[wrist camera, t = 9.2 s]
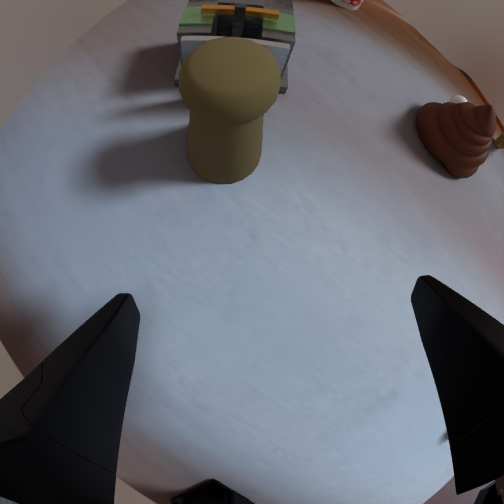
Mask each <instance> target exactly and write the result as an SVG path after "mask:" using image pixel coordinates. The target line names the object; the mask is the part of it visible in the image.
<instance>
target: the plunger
mask: <svg viewBox="0 0 504 504" xmlns="http://www.w3.org/2000/svg"><path fill="white" fill-rule="evenodd" d="M246 6H247V4H243V3H235V6H232V5H202V7H201V14H222V15H234V18H233V27H232V37H240V38H242V32H243V25H244V19H245V16H249V17H258V18H266V19H273V20H278V18H279V11H277V10H271V9H263V8H255V7H246ZM221 37H223V36H182V37H181V40H180V41H181V50H182V58H183V62H184V61H185V59H186V57H187V56H188V55H189V54H190V53H191V52H192V51H193V50H194V49H195V48H196V47H198V46H199V45H200V44H202V43H204V42H207V41H209V40H211V39H216V38H221ZM244 39H249V38H244ZM249 40H252V41H254V42H256V43H258V44H260V45H262V46H263V47H265V48H266V49H267V50H268V51H269V52H270V53H271V54H272V56H273V57H274V59H275V60H276V62H277V64H278V65H279V68H280V75H281V73H282V70H283V67H284V64H285V62H286V59H287V56H288V53H289V51H290V44H286V43H280V42H273V41H266V40H258V39H249Z"/></svg>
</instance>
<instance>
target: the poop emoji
mask: <svg viewBox="0 0 504 504" xmlns="http://www.w3.org/2000/svg"><path fill="white" fill-rule="evenodd" d="M417 126H418V131H419V134H420V136H421V139H422V141H423V142H424V144H425V146H426V147H427V148H428V150H429V151H430V152H431V153H432V154H433V155H434V156H435V157H436V158H437V159H438V160H440V161H441V162H443V164H444V165H445V167H446V168H447V169H448V171H449V172H450V173H452V174H453V175H455V176H457V177H459V178H468V177H470V176H472V175H473V174H474V173H475V172H476V171H477V169H478V167H479V166H480V165H481V164H483V163H484V162H485V160H486V159H487V156H488V153H489V149H490V147H491V144H492V138H493V135H494V133H495V129H496V113H495V110H494V107H493V106H492V105H481V106H478V107H477V106H475V105H473V104H472V103H469V102H467V100H466V99H465V98H464V97H463V96H461V95H456V96H453V97H452V98H451V99H450V101H449V102H447V103H444V104H441V103H436V102H431V103H427V104H425V105H424V106H422V107H421V109H420V110H419V112H418V116H417Z"/></svg>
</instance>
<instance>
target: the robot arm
mask: <svg viewBox="0 0 504 504" xmlns="http://www.w3.org/2000/svg"><path fill="white" fill-rule="evenodd" d="M411 303H412V307H413V310H414V314H415V317H416V321H417V325H418V329H419V333H420V336H421V340H422V343H423V346H424V349H425V352H426V355H427V358H428V361H429V365H430V368H431V371H432V374H433V378H434V381H435V384H436V388H437V392H438V395H439V399H440V403H441V407H442V411H443V415H444V419H445V424H446V429H447V433H448V438H449V444H450V450H451V456H452V462H453V470H454V478H455V487H456V493H457V495H458V494H461V493H464V492H467V491H469V490H472V489H475V488H477V487H480V486H482V485H484V484H487V483H489V482H491V481H493V480H495V481H494V482H492V483H491V484H489V485H488V486H486V487H485V488H483V489H482V490H480V492H479V494H478V496H477V498H476V501H475V503H474V504H504V325H503V324H502V323H500V322H499V321H497V320H496V319H495V318H493V317H492V316H490V315H489V314H488V313H486V312H485V311H483V310H482V309H481V308H479V307H478V306H476V305H475V304H473V303H472V302H470V301H469V300H467V299H466V298H464V297H463V296H461V295H460V294H458V293H457V292H455V291H454V290H452V289H451V288H449V287H448V286H446V285H445V284H443V283H442V282H440V281H438V280H437V279H435V278H434V277H432V276H430V275H425V276H420V277H419V278H418V279H417V281H416V284H415V287H414V289H413V292H412V295H411ZM139 323H140V313H139V310H138V308H137V306H136V303H135V301H134V299H133V296H132V295H131V294H129V293H119V294H117V295H116V296H115V297H114V298H112V299H111V300H110V301H109V302H108V303H107V304H105V305H104V306H103V307H102V308H101V309H100V310H98V311H97V312H96V313H95V314H94V315H93V316H92V317H90V318H89V319H88V320H87V321H86V322H85V323H84V324H82V325H81V326H80V327H79V328H78V329H77V330H76V331H75V332H74V333H72V334H71V335H70V336H69V337H68V338H67V339H66V340H65V341H64V342H63V343H61V344H60V345H59V346H58V347H57V348H56V349H55V350H54V351H53V352H52V353H51V354H50V355H49V356H47V357H46V358H45V359H44V361H43V362H41V363H40V364H39V365H38V366H37V367H36V368H35V369H34V370H33V371H32V372H31V373H30V374H28V375H27V376H26V377H25V378H24V379H23V380H22V381H21V382H20V383H19V384H17V385H16V386H15V387H14V388H13V389H12V390H10V391H9V392H8V393H7V394H6V395H4V396H3V397H2V398H1V399H0V504H114V493H115V482H116V470H117V461H118V453H119V445H120V438H121V431H122V425H123V419H124V413H125V407H126V402H127V396H128V391H129V386H130V381H131V376H132V372H133V367H134V362H135V355H136V346H137V338H138V330H139ZM214 484H215V485H214ZM171 504H255V503H253V502H251V501H249V499H247V498H245V497H244V496H242V495H240V494H239V493H237V492H236V491H234V490H231V489H230V488H228V487H227V486H225V485H224V484H222V483H220V482H219V481H217V480H211V481H209V482H207V483H205V484H203V485H201V486H199V487H197V488H195V489H192V490H190V491H188V492H186V493H184V494H181V495H179V496H177V497H174V498H172V499H171Z"/></svg>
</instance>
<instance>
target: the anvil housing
mask: <svg viewBox="0 0 504 504" xmlns="http://www.w3.org/2000/svg"><path fill="white" fill-rule="evenodd" d="M235 3H243V4H247V6H246V7H255V8H263V9H271V10H277V11H279V18H278V20H273V19H266V18H258V17H249V16H245V19H244V25H243V32H242V38H249V39H258V40H266V41H273V42H280V43H286V44H290V51H289V53H288V56H287V59H286V62H285V64H284V67H283V70H282V73H281V86H280V89H279V93H284V94H285V93H286V90H287V88H288V80H287V63H288V60H289V57H290V55H291V52H292V50H293V47H294V44H295V33H296V32H295V19H294V15H293V3H292V0H189V2H188V5H187V7H186V8H185V10H184V13H183V15H182V18H181V20H180V23H179V28H178V31H177V38H178V46H179V54H180V59H179V63H178V67H177V70H176V74H175V78H174V81H175V86H179V85H178V82H179V73H180V69H181V66H182V64H183V58H182V50H181V41H180V40H181V37H182V36H223V37H232V27H233V18H234V15H222V14H201V7H202V5H232V6H235Z"/></svg>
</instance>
